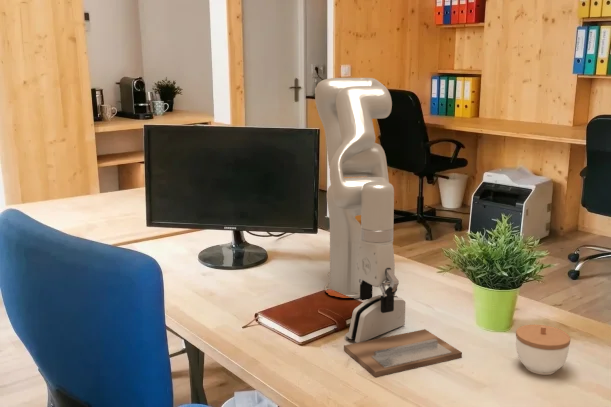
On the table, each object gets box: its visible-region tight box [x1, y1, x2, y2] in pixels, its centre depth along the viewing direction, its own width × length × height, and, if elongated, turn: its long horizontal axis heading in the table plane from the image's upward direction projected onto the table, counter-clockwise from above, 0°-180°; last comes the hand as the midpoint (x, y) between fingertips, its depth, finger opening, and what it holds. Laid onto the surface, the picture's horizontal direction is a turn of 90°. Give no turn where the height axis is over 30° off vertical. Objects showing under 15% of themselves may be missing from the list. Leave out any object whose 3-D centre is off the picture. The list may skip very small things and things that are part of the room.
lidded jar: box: [515, 324, 571, 376], centre depth 132 cm, size 11×11×9 cm
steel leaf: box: [371, 339, 451, 368], centre depth 136 cm, size 6×17×1 cm, turn 114°
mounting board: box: [343, 328, 463, 378], centre depth 139 cm, size 14×22×1 cm, turn 114°
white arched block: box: [344, 294, 406, 343], centre depth 149 cm, size 17×5×10 cm, turn 132°
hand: (376, 305), depth 148 cm, fingers open, 9 cm apart
